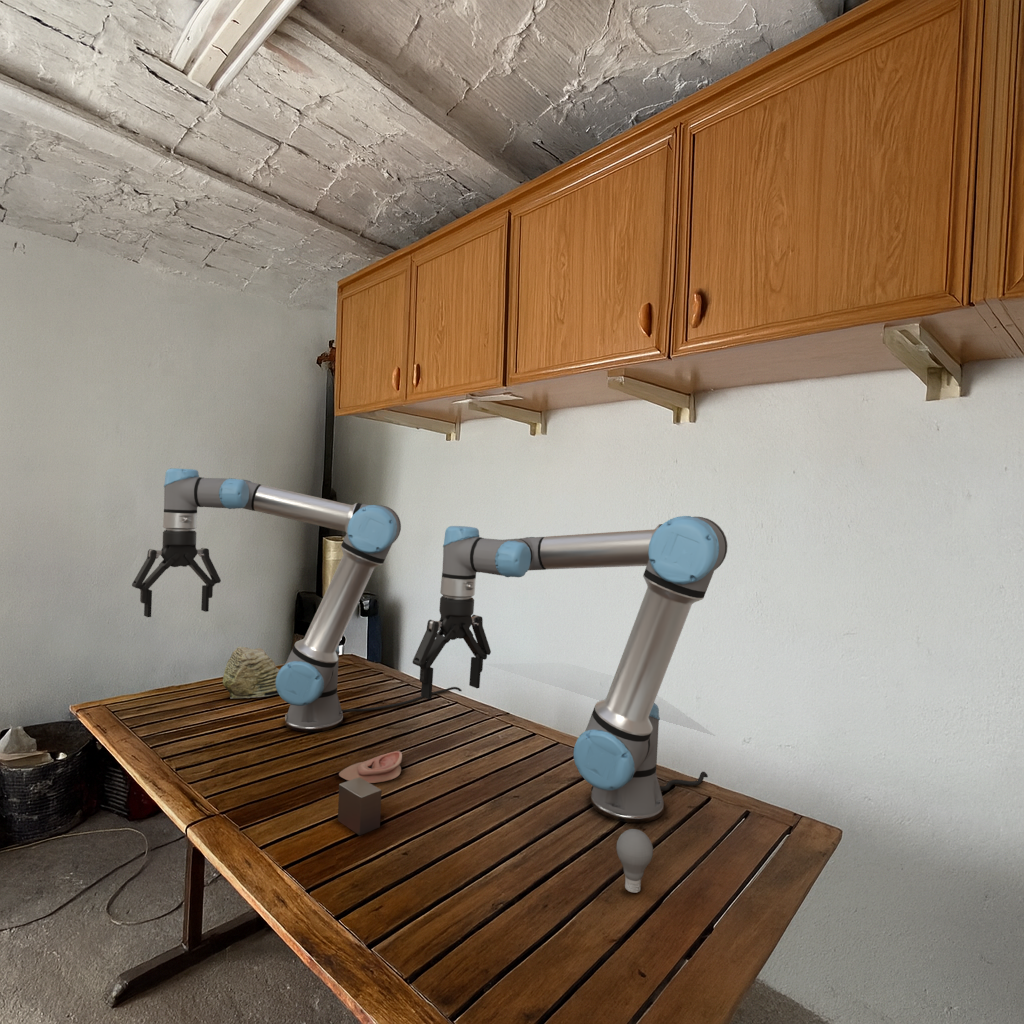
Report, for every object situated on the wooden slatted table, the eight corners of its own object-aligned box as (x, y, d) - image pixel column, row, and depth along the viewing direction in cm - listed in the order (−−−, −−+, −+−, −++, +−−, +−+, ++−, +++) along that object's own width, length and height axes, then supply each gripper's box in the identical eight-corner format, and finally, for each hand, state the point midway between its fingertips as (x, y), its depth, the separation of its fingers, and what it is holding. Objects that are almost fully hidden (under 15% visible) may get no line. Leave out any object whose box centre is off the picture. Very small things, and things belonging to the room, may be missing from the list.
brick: (337, 820, 124) (339, 783, 124) (357, 812, 128) (359, 776, 128) (359, 835, 119) (361, 797, 119) (380, 827, 123) (381, 789, 122)
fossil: (218, 695, 195) (220, 647, 195) (278, 685, 208) (279, 640, 207) (228, 703, 189) (230, 653, 188) (289, 692, 201) (290, 645, 201)
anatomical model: (332, 762, 141) (355, 743, 152) (332, 780, 141) (355, 759, 153) (388, 770, 139) (407, 750, 150) (388, 788, 139) (407, 766, 150)
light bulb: (610, 879, 108) (613, 822, 108) (644, 879, 109) (647, 822, 109) (619, 902, 102) (622, 840, 102) (655, 901, 103) (658, 840, 103)
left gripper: (129, 531, 148) (126, 621, 148) (235, 530, 166) (232, 610, 167) (119, 529, 153) (116, 616, 154) (223, 528, 172) (220, 606, 172)
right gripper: (421, 603, 128) (414, 707, 129) (509, 595, 145) (503, 686, 146) (400, 597, 133) (393, 696, 134) (488, 590, 151) (482, 678, 151)
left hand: (177, 613), depth 160 cm, fingers open, 13 cm apart
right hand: (451, 691), depth 140 cm, fingers open, 13 cm apart
